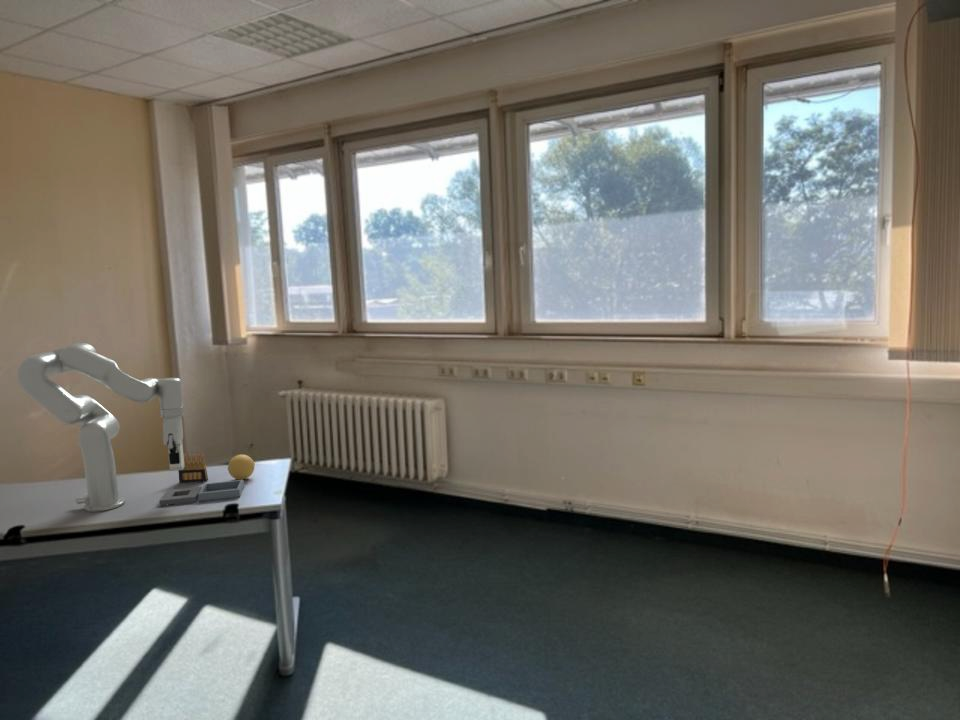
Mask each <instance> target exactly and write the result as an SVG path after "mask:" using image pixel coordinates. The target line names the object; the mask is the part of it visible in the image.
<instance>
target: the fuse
mask: <svg viewBox="0 0 960 720" xmlns="http://www.w3.org/2000/svg"><path fill="white" fill-rule="evenodd" d="M168 444H169V443H168ZM168 444H167V445H168ZM173 444H175V443H173ZM183 446H184V444H183V440H182V441H181V442H180V443H179V444H178V452H179V460H180V463H179V464H170V460H169V459H168V462H169V463H168V465H169V471H170V472H171V471H179V470H182V469H183V468H184V467H185V466H184V456H183V453H184V447H183ZM173 447H175V446H173ZM167 452H168V454H169V448H168V447H167Z"/></svg>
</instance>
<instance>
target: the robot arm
mask: <svg viewBox="0 0 960 720" xmlns="http://www.w3.org/2000/svg"><path fill="white" fill-rule="evenodd" d="M70 371H74V372H76V373H79V374H81V375H84V376H86V377H88V378H90V379H93V380H95V381H97V382H99V383H101V384H102V385H104V387H106V388H108V390H110V391H112V392H113V393H115V394H116V395H119V396H121V397H123V398H125V399H128V400H130V401H132V402H136V403H140V404H142V403H143V404H144V403H147V402H149V401H151V400H154V399H156V398H159V407H160V408H159V409H160V418H161V419H162V443H163V446H167V449H168V448H169V453H168V461H169V460H170V464H179V463H180V460H179V452H178V444H179V443H180V442H181V441H183V439H184V428H183V427H184V426H183V419H182V417H183V416H185V409H184V398H183V397H184V396H183V384H182V380H181V379H180V378H179V377H165V378H159V377H158V378H157V377H147V378H144V379H141V380H139V379H137V378H135V377H132V376H130V375H129V374H127V373H125V372H123V371H122V370H121V369H120V368H119V366H118V363H117V362H116V361H115V360H113V359H111V358H109V357H106V356H105V355H101V354H99V353H97V350H96V348H95V347H94V346H93V345H91V344H89V343H88V342H87V343H85V342H78V343H73V344H69V345H67V346H66V347H62V348H59V349H58V348H57V349H53V350H50V351H46V352H40V353H36V354H32V355H29V356H28V357H26V358H24V359H23V360H22V361H21V362H20V364H19V366H18V368H17V373H16V374H17V375H16V376H17V381H18V383H19V385H20V388H21V390H23V391H24V392H25V393H26V394H27V395H28V396H30V398H31V399H33V400H35V402H37V403H38V404H39V405H41V406H42V407H43V408H44V409H45V410H46V411H47V412H49V413H50V414H51V415H52V416H53V417H55V418H56V419H57V420H58V421H59V422H61V423H62V424H64V425H66V426H75V425H78V424H79V423H80V424H81V426H80V427H79V430H78V433H77V440H78V443H79V447H80V450H81V455H82V462H83V468H84V475H85V476H84V477H85V482H86V483H85V484H86V490H87V491H86V492H87V495H85V496H78V497H75V503H76V504H77V505H81V504H82V505H83V504H84V505H83V509H84V511H85V512H90V513H96V512H103V511H109V510H113V509H116V508H118V507H121V506H123V505H124V504H125V498H123V497H121V496H119V485H118V478H117V470H116V462H115V461H116V460H115V453H114V450H113V446H112V443H111V441H112V440H113V439H114V438H115V437H116V436H118V434H119V432H120V428H121V426H120V423H119V421H118V419H117V418H116V416H114V415H113V414H112V413H111V412H110V411H108V410H107V408H105V407H104V406H103V405H101V404H100V403H99V402H98V401H96V399H94V398H92V397H91V396H89V395H86V394H75V395H72V394H71V393H69V392H68V390H65V389H64V388H63V387H62V386H61V385H60V384H58V383H56V382H55V381H53V380H51V379H50V378H49V377H52V376H55V375H58V374H63V373H66V372H70ZM168 443H169V444H168ZM173 443H175V444H173ZM173 446H175V447H173Z"/></svg>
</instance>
